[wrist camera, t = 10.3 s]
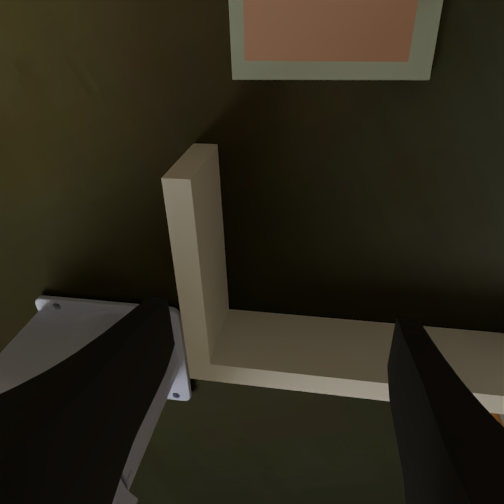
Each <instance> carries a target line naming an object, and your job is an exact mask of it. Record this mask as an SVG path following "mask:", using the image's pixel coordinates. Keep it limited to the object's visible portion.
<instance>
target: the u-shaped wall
mask: <svg viewBox="0 0 504 504" xmlns="http://www.w3.org/2000/svg"><path fill="white" fill-rule="evenodd" d="M161 180H162V187H163V194H164V201H165V208H166V215H167V222H168V229H169V236H170V243H171V250H172V257H173V264H174V271H175V278H176V285H177V292H178V299H179V306H180V313H181V320H182V327H183V334H184V341H185V348H186V355H187V362H188V369H189V376H190V378H191V379H200V380H208V381H217V382H226V383H235V384H243V385H252V386H261V387H269V388H278V389H287V390H296V391H304V392H313V393H322V394H330V395H339V396H348V397H357V398H365V399H374V400H383V401H390V399H389V388H388V371H387V365H388V360H389V354H390V349H391V343H392V338H393V333H394V327H395V324H394V323H382V322H371V321H360V320H348V319H337V318H325V317H314V316H302V315H291V314H279V313H268V312H256V311H245V310H234V309H229V302H228V287H227V273H226V258H225V244H224V229H223V215H222V200H221V186H220V171H219V157H218V144H198V143H193V144H192V145H191V146H190V148H189V149H188V150H187V151H186V152H185V153H184V154H183V155H182V156H181V157H180V158H179V159H178V161H177V162H176V163H175V164H174V165H173V166H172V167H171V168H170V169H169V170H168V171H167V172H166V174H165V175H164V176H163V177H162V178H161ZM423 327H424V328H425V330H426V331H427V333H428V334H429V336H430V337H431V339H432V340H433V342H434V343H435V345H436V346H437V348H438V349H439V351H440V352H441V354H442V355H443V356H444V358H445V359H446V361H447V362H448V363H449V364H450V366H451V367H452V368H453V370H454V371H455V372H456V374H457V375H458V376H459V378H460V379H461V380H462V381H463V383H464V384H465V385H466V386H467V388H468V389H469V390H470V391H471V392H472V393H473V395H474V396H475V397H476V398H477V399H478V400H479V402H480V403H481V404H482V405H483V406H484V407H485V408H486V409H487V410H488V411H489V413H496V414H504V333H497V332H486V331H474V330H463V329H451V328H440V327H428V326H423Z"/></svg>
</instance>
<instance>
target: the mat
mask: <svg viewBox="0 0 504 504" xmlns="http://www.w3.org/2000/svg"><path fill="white" fill-rule="evenodd" d="M442 5H443V0H418V4H417V11H416V17H415V23H414V30H413V36H412V42H411V49H410V55H409V61H408V62H356V61H245V55H244V11H243V0H229V20H230V41H231V62H232V80H430V74H431V68H432V63H433V57H434V51H435V45H436V40H437V34H438V28H439V22H440V16H441V11H442Z"/></svg>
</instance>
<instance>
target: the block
mask: <svg viewBox="0 0 504 504" xmlns="http://www.w3.org/2000/svg"><path fill="white" fill-rule="evenodd" d="M417 4H418V0H243V11H244V55H245V61H356V62H408V61H409V55H410V49H411V42H412V36H413V30H414V23H415V17H416V11H417Z"/></svg>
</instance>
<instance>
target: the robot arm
mask: <svg viewBox="0 0 504 504" xmlns="http://www.w3.org/2000/svg"><path fill="white" fill-rule="evenodd" d="M35 303H36V306H37V309H38V313H37V314H36V315H35V316H34V317H33V318H32V319H31V320H30V321H29V322H28V323H27V324H26V326H25V327H24V328H23V329H22V330H21V331H20V332H19V333H18V334H17V335H16V336H15V337H14V339H13V340H12V341H11V342H10V343H9V344H8V345H7V346H6V347H5V348H4V349H3V350H2V352H1V353H0V504H137V501H138V499H137V498H136V497H135V496H134V495H132V494H131V493H130V492H129V488H130V486H131V484H132V481H133V479H134V476H135V474H136V472H137V469H138V467H139V465H140V462H141V460H142V457H143V455H144V453H145V450H146V448H147V445H148V443H149V441H150V438H151V436H152V433H153V431H154V429H155V426H156V424H157V421H158V419H159V417H160V414H161V412H162V409H163V407H164V405H165V402H166V400H167V399H174V400H182V401H187V400H189V399H190V398H191V395H192V392H191V385H190V378H189V371H188V364H187V357H186V350H185V343H184V336H183V329H182V322H181V315H180V312H179V310H178V309H176V308H175V307H169V304H168V298H167V297H156V296H149V297H148V298H146V299H145V300H144V301H143V302H141V303H140V304H135V303H123V302H112V301H101V300H89V299H78V298H67V297H55V296H44V295H43V296H39V297H38V298H37V299H36V301H35ZM58 304H59V305H58ZM387 371H388V388H389V399H390V405H391V411H392V416H393V422H394V427H395V433H396V438H397V443H398V449H399V454H400V459H401V465H402V471H403V478H404V486H405V498H406V504H504V427H503V426H502V425H501V424H500V423H499V422H498V421H497V420H496V419H495V418H494V417H493V416H492V415H491V414H490V413H489V411H488V410H487V409H486V408H485V407H484V406H483V405H482V404H481V403H480V402H479V400H478V399H477V398H476V397H475V396H474V395H473V393H472V392H471V391H470V390H469V389H468V388H467V386H466V385H465V384H464V383H463V381H462V380H461V379H460V378H459V376H458V375H457V374H456V372H455V371H454V370H453V368H452V367H451V366H450V364H449V363H448V362H447V361H446V359H445V358H444V356H443V355H442V354H441V352H440V351H439V349H438V348H437V346H436V345H435V343H434V342H433V340H432V339H431V337H430V336H429V334H428V333H427V331H426V330H425V328H424V327H423V325H422V323H421V322H420V321H419V320H418V319H415V318H403V317H396V322H395V327H394V333H393V338H392V343H391V349H390V354H389V360H388V365H387Z"/></svg>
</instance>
